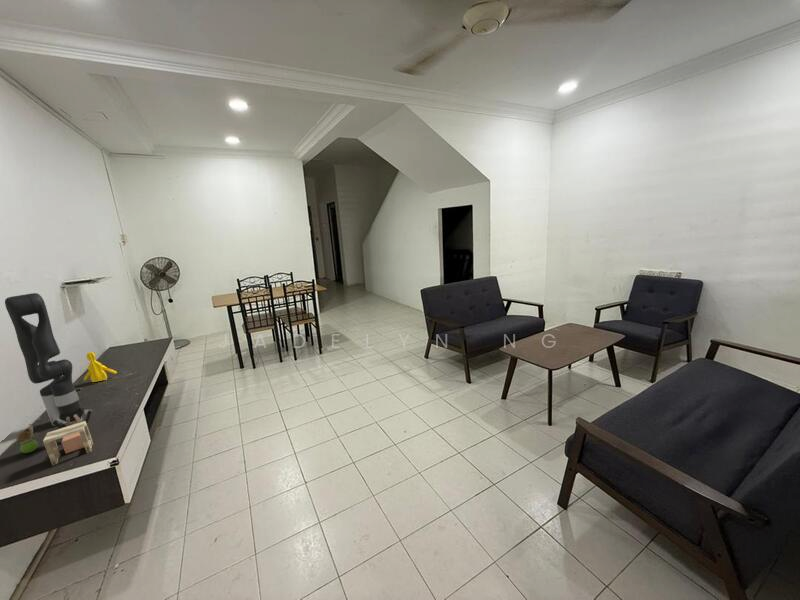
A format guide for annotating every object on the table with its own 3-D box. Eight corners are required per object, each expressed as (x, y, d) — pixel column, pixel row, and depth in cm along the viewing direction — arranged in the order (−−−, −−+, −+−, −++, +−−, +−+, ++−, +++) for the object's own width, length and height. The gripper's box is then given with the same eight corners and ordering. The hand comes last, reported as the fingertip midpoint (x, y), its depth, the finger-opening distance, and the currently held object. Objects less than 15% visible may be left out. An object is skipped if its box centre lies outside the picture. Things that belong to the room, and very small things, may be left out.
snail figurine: (45, 445, 147) (36, 423, 144) (30, 455, 140) (20, 432, 138) (34, 446, 147) (24, 424, 144) (18, 456, 140) (8, 433, 137)
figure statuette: (119, 375, 221) (110, 346, 216) (115, 379, 214) (106, 349, 209) (86, 382, 213) (75, 352, 208) (81, 387, 206) (70, 356, 201)
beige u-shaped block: (56, 456, 138) (47, 432, 135) (93, 443, 145) (85, 420, 142) (52, 465, 132) (42, 441, 130) (91, 451, 139) (82, 428, 137)
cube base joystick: (72, 437, 151) (66, 424, 149) (89, 431, 155) (84, 418, 153) (65, 453, 139) (60, 439, 138) (84, 447, 143) (79, 432, 141)
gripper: (89, 392, 155) (99, 423, 159) (48, 404, 146) (60, 436, 150) (86, 398, 149) (97, 430, 153) (43, 410, 141) (56, 444, 144)
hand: (79, 433), depth 152 cm, fingers closed on cube base joystick, 3 cm apart
